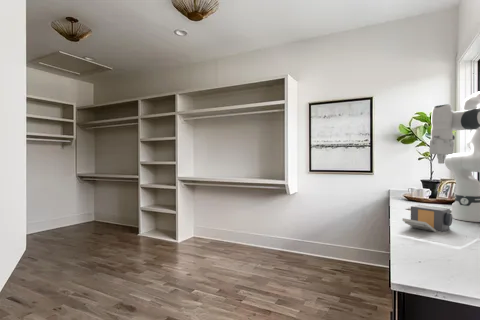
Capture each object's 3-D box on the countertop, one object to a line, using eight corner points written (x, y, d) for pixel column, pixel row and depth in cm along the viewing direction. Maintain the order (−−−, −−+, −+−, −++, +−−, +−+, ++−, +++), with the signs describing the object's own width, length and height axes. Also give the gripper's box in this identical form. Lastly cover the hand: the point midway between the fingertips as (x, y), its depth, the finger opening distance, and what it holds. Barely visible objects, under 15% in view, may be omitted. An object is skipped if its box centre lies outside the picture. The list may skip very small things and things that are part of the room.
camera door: (414, 226, 145) (402, 218, 137) (437, 230, 137) (425, 222, 129) (413, 230, 144) (401, 221, 137) (436, 234, 136) (425, 226, 129)
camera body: (418, 225, 152) (418, 204, 152) (453, 231, 139) (453, 209, 139) (410, 227, 146) (410, 206, 146) (446, 234, 134) (446, 211, 134)
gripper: (440, 134, 137) (440, 163, 137) (456, 137, 149) (456, 163, 149) (425, 135, 142) (425, 163, 142) (442, 137, 154) (441, 163, 154)
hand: (441, 163), depth 145 cm, fingers closed
